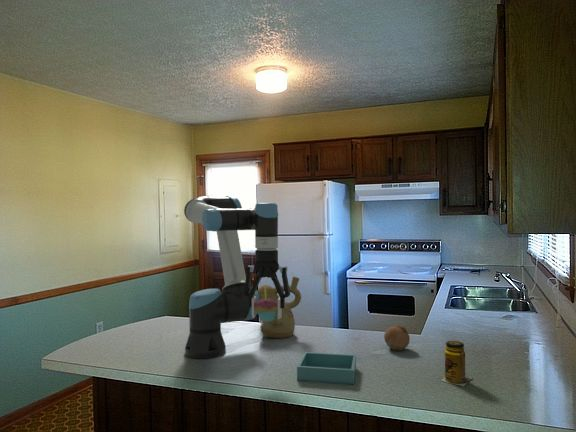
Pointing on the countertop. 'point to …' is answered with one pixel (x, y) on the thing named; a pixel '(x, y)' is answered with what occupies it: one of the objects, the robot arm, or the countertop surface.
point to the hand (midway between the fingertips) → (266, 317)
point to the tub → (327, 368)
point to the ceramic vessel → (286, 322)
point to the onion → (397, 337)
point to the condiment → (455, 364)
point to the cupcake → (266, 308)
